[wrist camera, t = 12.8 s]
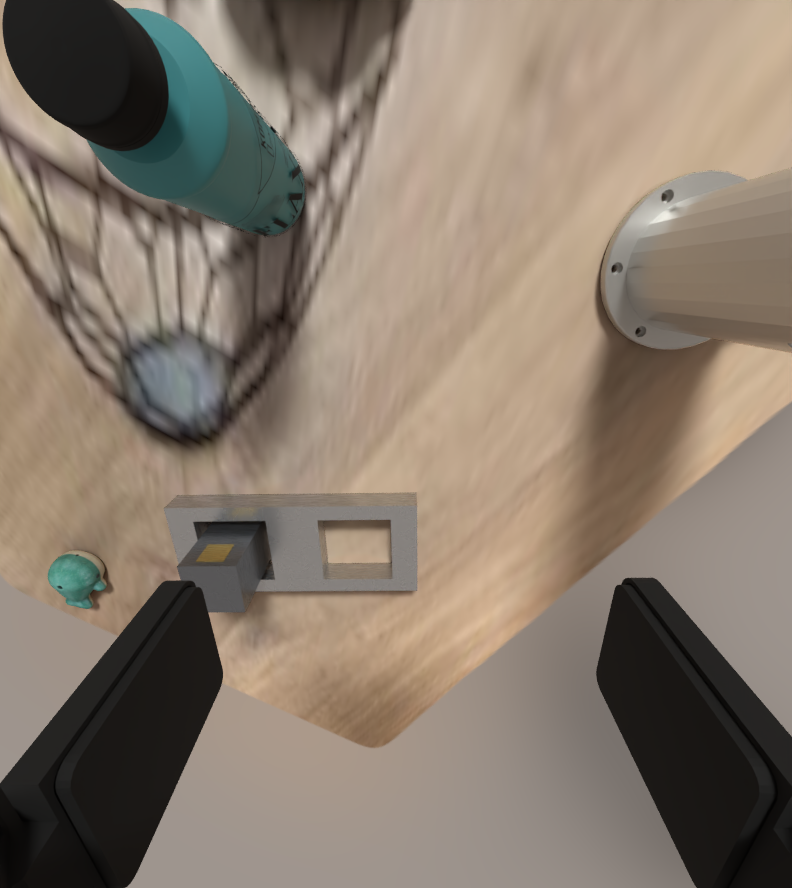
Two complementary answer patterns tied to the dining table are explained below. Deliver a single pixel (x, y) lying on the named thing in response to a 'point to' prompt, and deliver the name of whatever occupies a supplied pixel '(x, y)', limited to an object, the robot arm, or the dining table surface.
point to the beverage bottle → (154, 109)
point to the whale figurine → (77, 577)
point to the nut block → (228, 563)
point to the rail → (308, 536)
